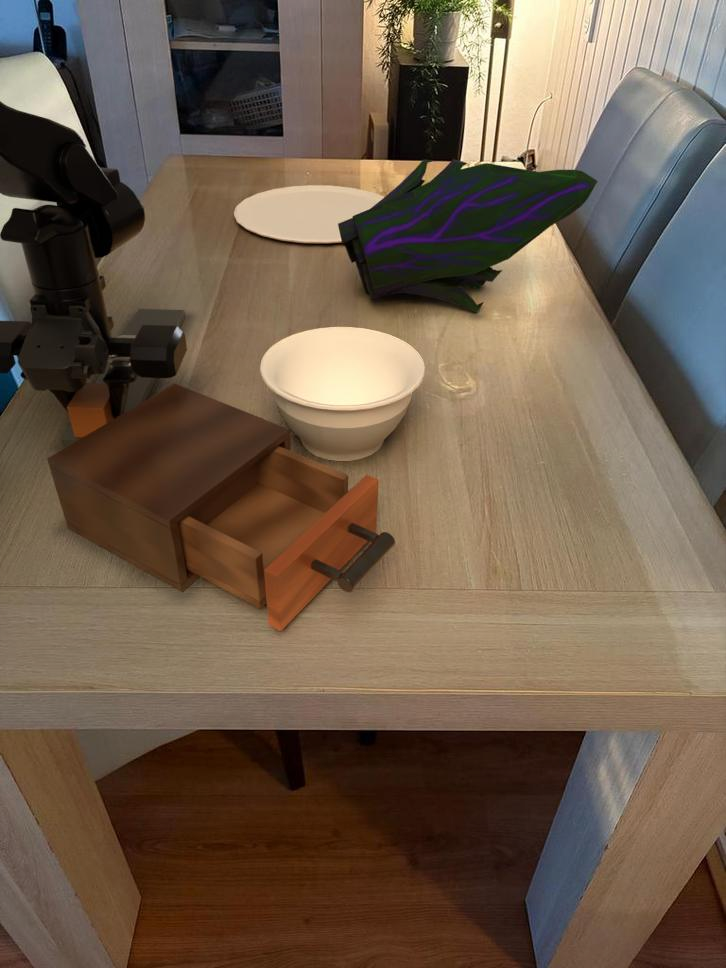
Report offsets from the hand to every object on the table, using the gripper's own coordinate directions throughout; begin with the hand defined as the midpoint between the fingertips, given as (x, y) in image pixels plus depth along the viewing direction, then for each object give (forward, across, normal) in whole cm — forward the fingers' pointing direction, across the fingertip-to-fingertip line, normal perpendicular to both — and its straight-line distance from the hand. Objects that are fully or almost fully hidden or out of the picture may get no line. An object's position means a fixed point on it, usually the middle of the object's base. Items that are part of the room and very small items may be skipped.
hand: (99, 423), depth 76 cm
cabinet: (+1, +11, -12) cm, 17 cm away
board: (+1, 0, +12) cm, 12 cm away
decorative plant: (+1, +38, +36) cm, 52 cm away
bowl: (+1, +25, 0) cm, 25 cm away
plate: (+1, +18, +67) cm, 70 cm away
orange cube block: (0, 0, 0) cm, 0 cm away
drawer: (0, +21, -19) cm, 28 cm away
